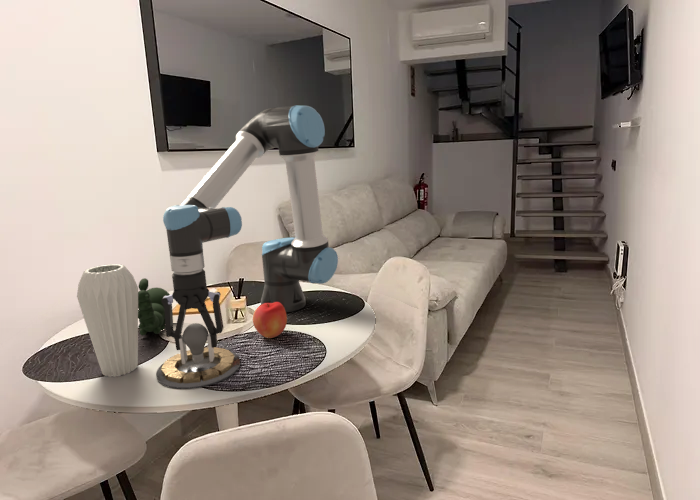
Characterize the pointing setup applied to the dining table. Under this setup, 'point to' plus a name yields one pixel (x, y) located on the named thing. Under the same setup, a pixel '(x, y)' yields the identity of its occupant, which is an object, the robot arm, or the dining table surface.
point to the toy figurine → (150, 308)
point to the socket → (198, 369)
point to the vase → (111, 316)
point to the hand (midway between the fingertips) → (198, 360)
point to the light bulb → (196, 340)
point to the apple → (270, 319)
